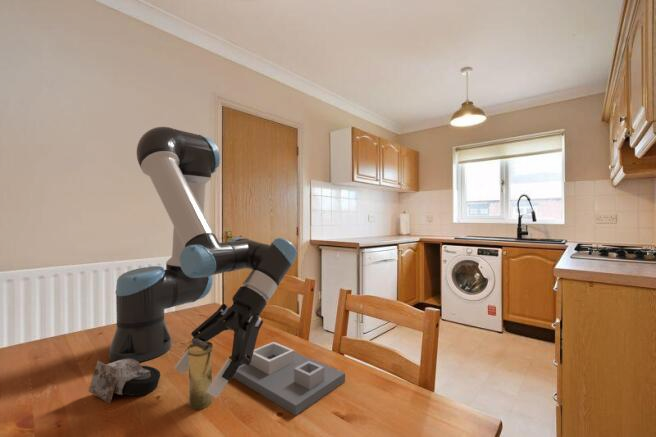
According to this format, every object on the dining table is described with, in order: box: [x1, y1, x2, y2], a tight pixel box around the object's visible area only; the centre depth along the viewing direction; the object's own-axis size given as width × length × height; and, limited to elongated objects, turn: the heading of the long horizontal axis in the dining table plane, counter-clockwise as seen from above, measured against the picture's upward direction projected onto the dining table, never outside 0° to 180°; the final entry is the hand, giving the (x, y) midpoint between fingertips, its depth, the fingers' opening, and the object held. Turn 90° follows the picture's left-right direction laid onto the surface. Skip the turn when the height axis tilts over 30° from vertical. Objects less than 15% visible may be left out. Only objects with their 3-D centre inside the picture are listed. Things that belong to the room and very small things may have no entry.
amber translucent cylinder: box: [187, 338, 214, 411], centre depth 63 cm, size 5×5×13 cm
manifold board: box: [232, 341, 346, 416], centre depth 73 cm, size 24×16×5 cm, turn 50°
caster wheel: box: [88, 359, 161, 404], centre depth 68 cm, size 7×11×10 cm
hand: (193, 382), depth 62 cm, fingers open, 13 cm apart
